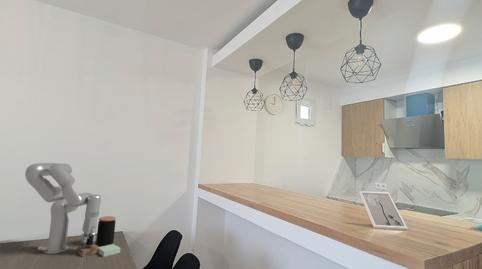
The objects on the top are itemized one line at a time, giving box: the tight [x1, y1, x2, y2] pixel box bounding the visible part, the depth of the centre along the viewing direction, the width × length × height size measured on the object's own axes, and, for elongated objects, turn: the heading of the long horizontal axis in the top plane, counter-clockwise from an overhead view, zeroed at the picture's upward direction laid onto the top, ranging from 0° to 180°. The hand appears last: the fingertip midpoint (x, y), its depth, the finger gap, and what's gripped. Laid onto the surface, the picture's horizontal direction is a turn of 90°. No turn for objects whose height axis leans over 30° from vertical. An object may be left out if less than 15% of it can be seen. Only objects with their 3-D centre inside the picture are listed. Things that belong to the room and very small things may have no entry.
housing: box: [79, 232, 97, 247], centre depth 161 cm, size 6×6×7 cm
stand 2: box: [97, 243, 121, 257], centre depth 162 cm, size 10×10×3 cm
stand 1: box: [76, 243, 99, 258], centre depth 160 cm, size 10×10×3 cm
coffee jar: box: [95, 215, 117, 247], centre depth 176 cm, size 11×11×18 cm
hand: (87, 242), depth 161 cm, fingers closed on housing, 6 cm apart
